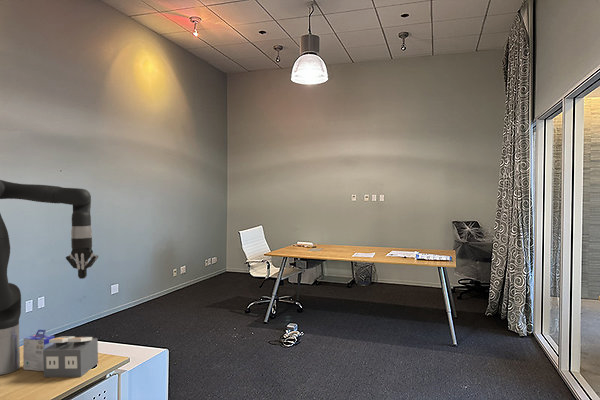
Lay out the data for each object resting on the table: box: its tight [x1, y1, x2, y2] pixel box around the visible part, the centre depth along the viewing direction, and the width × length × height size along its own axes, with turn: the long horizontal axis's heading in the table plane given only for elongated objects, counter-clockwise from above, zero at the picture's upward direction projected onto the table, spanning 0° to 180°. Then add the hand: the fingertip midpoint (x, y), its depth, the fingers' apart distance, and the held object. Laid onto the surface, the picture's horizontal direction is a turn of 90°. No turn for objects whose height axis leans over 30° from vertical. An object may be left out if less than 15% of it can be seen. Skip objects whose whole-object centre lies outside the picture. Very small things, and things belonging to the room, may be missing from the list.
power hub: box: [43, 337, 99, 378], centre depth 153 cm, size 14×12×11 cm
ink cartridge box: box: [22, 329, 55, 372], centre depth 155 cm, size 10×6×14 cm, turn 78°
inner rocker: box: [49, 335, 76, 344], centre depth 153 cm, size 5×8×1 cm, turn 179°
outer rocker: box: [68, 336, 93, 342], centre depth 153 cm, size 5×8×1 cm, turn 179°
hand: (82, 278), depth 165 cm, fingers closed
